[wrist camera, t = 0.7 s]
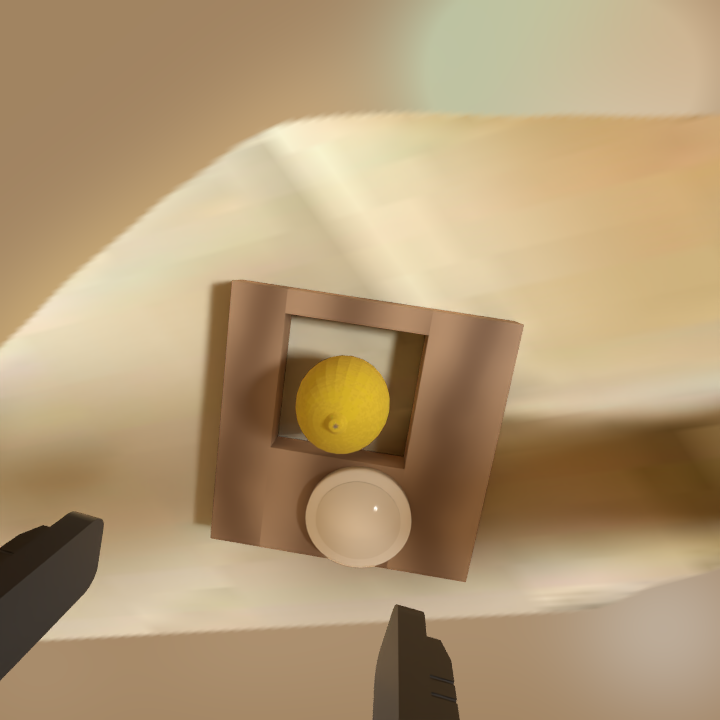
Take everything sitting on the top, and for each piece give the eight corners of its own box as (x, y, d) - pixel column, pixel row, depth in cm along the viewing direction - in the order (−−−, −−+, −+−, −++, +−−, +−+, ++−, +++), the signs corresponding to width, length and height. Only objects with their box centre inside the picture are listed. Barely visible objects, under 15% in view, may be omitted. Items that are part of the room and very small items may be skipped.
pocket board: (514, 321, 28) (523, 325, 26) (461, 562, 32) (465, 582, 30) (242, 279, 29) (232, 280, 27) (221, 521, 33) (210, 538, 31)
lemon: (327, 434, 31) (306, 490, 23) (296, 362, 30) (263, 395, 22) (401, 408, 30) (405, 457, 22) (372, 333, 29) (366, 356, 21)
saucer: (418, 475, 29) (420, 481, 28) (401, 567, 30) (401, 576, 29) (314, 458, 29) (311, 463, 28) (301, 550, 30) (299, 559, 30)
